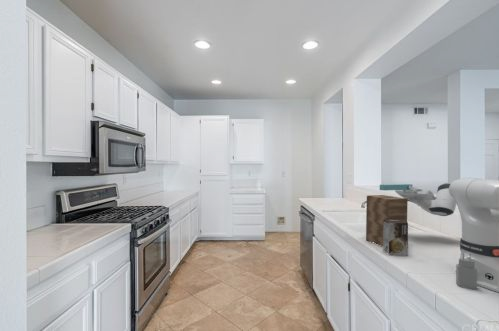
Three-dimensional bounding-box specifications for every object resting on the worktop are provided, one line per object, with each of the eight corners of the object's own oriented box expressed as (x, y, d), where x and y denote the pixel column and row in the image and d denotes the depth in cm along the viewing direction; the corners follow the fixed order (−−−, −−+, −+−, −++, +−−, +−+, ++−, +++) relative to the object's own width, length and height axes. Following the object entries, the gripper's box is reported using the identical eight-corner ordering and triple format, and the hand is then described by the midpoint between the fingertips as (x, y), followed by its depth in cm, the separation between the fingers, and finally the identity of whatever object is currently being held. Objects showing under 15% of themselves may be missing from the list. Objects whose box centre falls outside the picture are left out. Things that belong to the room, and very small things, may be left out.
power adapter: (455, 282, 92) (456, 250, 92) (474, 286, 89) (475, 253, 89) (457, 286, 89) (458, 253, 89) (477, 289, 86) (478, 256, 86)
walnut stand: (406, 247, 131) (407, 198, 131) (389, 249, 127) (390, 199, 127) (382, 238, 146) (382, 195, 146) (365, 240, 142) (366, 195, 142)
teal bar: (412, 189, 141) (412, 184, 141) (384, 190, 134) (384, 185, 134) (407, 189, 144) (407, 184, 144) (379, 189, 137) (379, 184, 137)
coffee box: (401, 251, 124) (401, 219, 124) (408, 256, 118) (408, 222, 118) (382, 250, 125) (383, 219, 125) (388, 255, 119) (389, 222, 119)
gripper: (436, 205, 134) (420, 193, 131) (402, 199, 154) (388, 189, 150) (440, 194, 135) (425, 182, 132) (406, 191, 155) (392, 180, 151)
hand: (405, 186), depth 141 cm, fingers closed on teal bar, 3 cm apart
